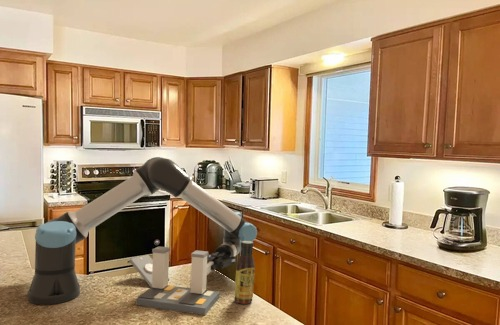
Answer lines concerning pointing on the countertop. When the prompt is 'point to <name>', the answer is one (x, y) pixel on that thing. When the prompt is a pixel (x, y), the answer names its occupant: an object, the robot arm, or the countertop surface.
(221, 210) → the robot arm
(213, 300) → the console
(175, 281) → the countertop surface
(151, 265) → the gray dial box
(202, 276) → the slider
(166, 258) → the slider
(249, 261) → the sauce bottle
